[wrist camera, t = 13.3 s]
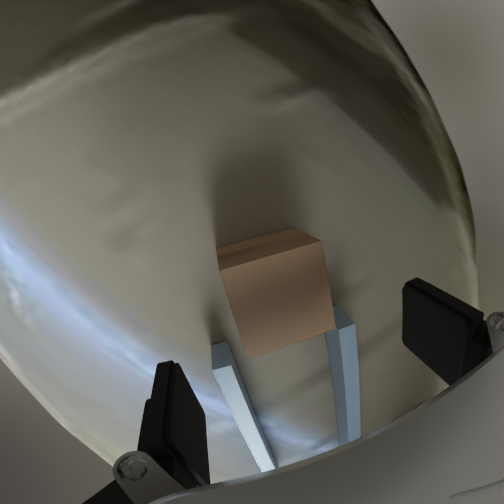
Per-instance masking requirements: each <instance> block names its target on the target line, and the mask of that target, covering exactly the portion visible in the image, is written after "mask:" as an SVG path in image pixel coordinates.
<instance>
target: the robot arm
mask: <svg viewBox="0 0 504 504" xmlns="http://www.w3.org/2000/svg"><path fill="white" fill-rule="evenodd" d="M402 298H403V325H402V341H403V343H404V345H405V346H406V347H407V348H408V349H409V350H410V351H412V352H413V353H414V354H415V355H416V356H417V357H418V358H419V359H421V360H422V361H423V362H424V363H425V364H426V365H427V366H428V367H430V368H431V369H432V370H433V371H434V372H435V373H436V374H437V375H439V376H440V377H441V378H442V379H443V380H444V381H445V382H446V383H447V384H448V385H450V386H449V387H448V388H446V389H445V390H444V391H442V392H441V393H439V394H438V395H436V396H435V397H433V398H431V399H430V400H428V401H427V402H425V403H424V404H422V405H420V406H419V407H417V408H415V409H414V410H412V411H410V412H409V413H407V414H405V415H403V416H402V417H400V418H398V419H396V420H394V421H392V422H391V423H389V424H387V425H385V426H383V427H381V428H379V429H377V430H375V431H373V432H371V433H369V434H367V435H365V436H362V437H360V438H358V439H356V440H354V441H351V442H349V443H347V444H344V445H342V446H340V447H337V448H335V449H332V450H330V451H327V452H325V453H322V454H319V455H317V456H314V457H311V458H308V459H305V460H302V461H299V462H296V463H293V464H290V465H287V466H283V467H280V468H276V469H273V470H269V471H266V472H262V473H258V474H254V475H250V476H246V477H242V478H238V479H233V480H228V481H223V482H219V483H214V484H210V473H209V462H208V449H207V435H206V419H205V413H204V411H203V409H202V407H201V405H200V403H199V401H198V399H197V398H196V396H195V394H194V392H193V390H192V388H191V386H190V384H189V382H188V380H187V378H186V376H185V374H184V372H183V370H182V368H181V366H180V364H179V363H174V362H173V361H172V360H171V361H167V362H162V363H158V364H157V368H156V373H155V378H154V383H153V389H152V394H151V399H148V400H146V403H145V408H144V413H143V419H142V424H141V430H140V436H139V442H138V448H137V451H131V452H127V453H125V454H124V455H122V456H121V457H119V458H118V459H117V461H116V462H115V464H114V466H113V475H114V478H115V480H114V481H113V482H111V483H110V484H108V485H107V486H106V487H105V488H103V489H102V490H100V491H99V492H98V493H96V494H95V495H94V496H93V497H91V498H89V499H88V500H87V501H85V502H84V503H82V504H504V312H494V313H492V314H490V315H489V316H488V317H487V319H486V321H484V320H483V315H484V313H483V312H481V311H479V310H477V309H476V308H474V307H472V306H470V305H468V304H467V303H465V302H463V301H461V300H459V299H457V298H456V297H454V296H452V295H450V294H448V293H446V292H444V291H443V290H441V289H439V288H437V287H435V286H433V285H431V284H429V283H427V282H425V281H423V280H422V279H420V278H414V279H412V280H410V281H408V282H406V283H405V285H404V287H403V289H402Z"/></svg>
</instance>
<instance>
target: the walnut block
mask: <svg viewBox="0 0 504 504" xmlns="http://www.w3.org/2000/svg"><path fill="white" fill-rule="evenodd" d="M216 251H217V258H218V265H219V271H220V274H221V277H222V281H223V284H224V287H225V290H226V294H227V297H228V300H229V303H230V306H231V310H232V313H233V316H234V319H235V322H236V325H237V328H238V331H239V334H240V337H241V341H242V344H243V347H244V350H245V353H246V356H247V358H249V357H252V356H256V355H259V354H263V353H266V352H269V351H272V350H275V349H279V348H282V347H285V346H288V345H291V344H294V343H297V342H300V341H303V340H306V339H308V338H311V337H314V336H317V335H320V334H322V333H325V332H328V331H331V330H333V329H336V326H335V319H334V312H333V306H332V299H331V293H330V287H329V280H328V275H327V269H326V263H325V258H324V252H323V247H322V242H321V240H319V239H317V238H314V237H312V236H310V235H308V234H306V233H304V232H302V231H300V230H298V229H296V228H294V227H290V228H286V229H283V230H279V231H275V232H272V233H268V234H265V235H261V236H258V237H254V238H250V239H247V240H243V241H240V242H236V243H233V244H229V245H226V246H222V247H219V248H216Z"/></svg>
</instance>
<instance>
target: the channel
mask: <svg viewBox="0 0 504 504" xmlns="http://www.w3.org/2000/svg"><path fill="white" fill-rule="evenodd" d="M333 312H334V319H335V326H336V329H333V330H331V331H328V332H325V335H326V341H327V348H328V354H329V361H330V368H331V376H332V383H333V391H334V399H335V408H336V417H337V427H338V437H339V447H340V446H342V445H344V444H347V443H349V442H351V441H354V440H356V439H358V438H360V432H361V423H360V383H359V364H358V350H357V338H356V327H355V323H354V322H353V321H352V320H351V319H350V318H349V317H348V316H347V315H346V314H345V313H344V312H343V311H342V310H340V309H339V308H338V307H337V306H335V307H333ZM211 356H212V371H213V373H214V375H215V377H216V380H217V382H218V384H219V387H220V389H221V391H222V393H223V395H224V398H225V400H226V402H227V404H228V406H229V408H230V410H231V413H232V415H233V417H234V419H235V421H236V423H237V425H238V427H239V429H240V431H241V433H242V435H243V437H244V439H245V441H246V443H247V445H248V447H249V449H250V451H251V453H252V455H253V456H254V458H255V460H256V462H257V464H258V466H259V468H260V469H261V471H262V472H266V471H269V470H273V469H276V468H278V467H277V464H276V462H275V460H274V458H273V455H272V453H271V451H270V448H269V446H268V444H267V441H266V439H265V437H264V434H263V432H262V429H261V427H260V425H259V422H258V420H257V417H256V415H255V412H254V410H253V407H252V405H251V402H250V400H249V397H248V395H247V392H246V390H245V387H244V384H243V382H242V379H241V377H240V374H239V371H238V369H237V366H236V363H235V361H234V358H233V355H232V352H231V350H230V347H229V344H228V341H225V342H222V343H218V344H214V345H211Z"/></svg>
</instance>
